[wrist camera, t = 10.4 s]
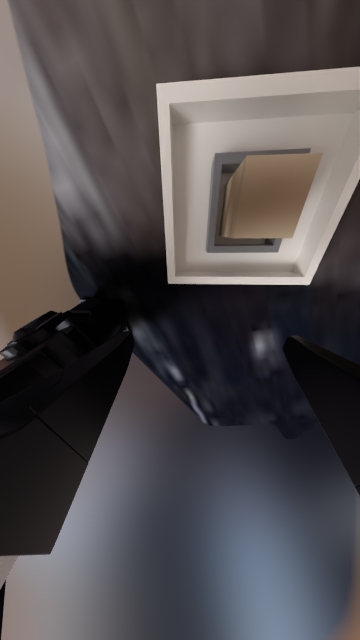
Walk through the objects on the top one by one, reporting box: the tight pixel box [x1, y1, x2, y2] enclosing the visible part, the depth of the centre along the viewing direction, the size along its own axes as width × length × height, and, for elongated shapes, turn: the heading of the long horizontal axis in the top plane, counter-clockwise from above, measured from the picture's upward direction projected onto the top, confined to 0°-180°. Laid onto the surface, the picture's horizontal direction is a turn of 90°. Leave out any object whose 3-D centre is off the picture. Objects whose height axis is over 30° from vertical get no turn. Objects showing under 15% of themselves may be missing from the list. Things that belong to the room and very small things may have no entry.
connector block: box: [219, 153, 323, 238], centre depth 11 cm, size 4×4×6 cm
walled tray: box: [156, 67, 360, 285], centre depth 13 cm, size 13×15×3 cm
